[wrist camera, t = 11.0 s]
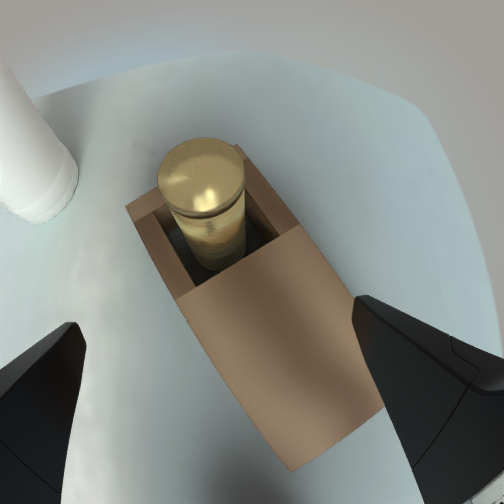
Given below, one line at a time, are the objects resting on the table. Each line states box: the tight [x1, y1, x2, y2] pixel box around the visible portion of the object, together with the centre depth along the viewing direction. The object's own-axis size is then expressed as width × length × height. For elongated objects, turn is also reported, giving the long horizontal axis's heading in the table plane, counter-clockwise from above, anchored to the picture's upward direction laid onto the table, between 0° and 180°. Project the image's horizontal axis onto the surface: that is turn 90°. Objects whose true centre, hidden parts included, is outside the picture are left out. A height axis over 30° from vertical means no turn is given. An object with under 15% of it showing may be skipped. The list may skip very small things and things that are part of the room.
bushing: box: [157, 138, 246, 271], centre depth 19 cm, size 4×4×10 cm
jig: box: [125, 144, 385, 472], centre depth 20 cm, size 9×20×4 cm, turn 33°
